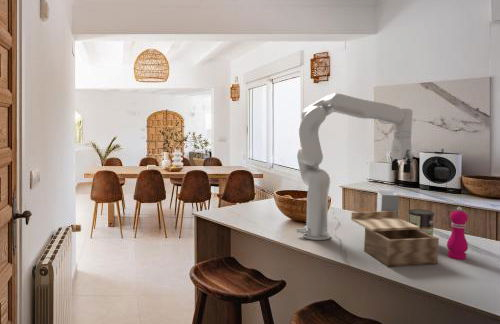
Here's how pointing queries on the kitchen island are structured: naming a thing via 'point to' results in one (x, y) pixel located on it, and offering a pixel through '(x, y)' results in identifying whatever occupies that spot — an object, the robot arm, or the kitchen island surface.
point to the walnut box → (401, 247)
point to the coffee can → (422, 220)
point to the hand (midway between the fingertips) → (400, 171)
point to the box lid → (381, 221)
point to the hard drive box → (387, 201)
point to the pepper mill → (458, 235)
